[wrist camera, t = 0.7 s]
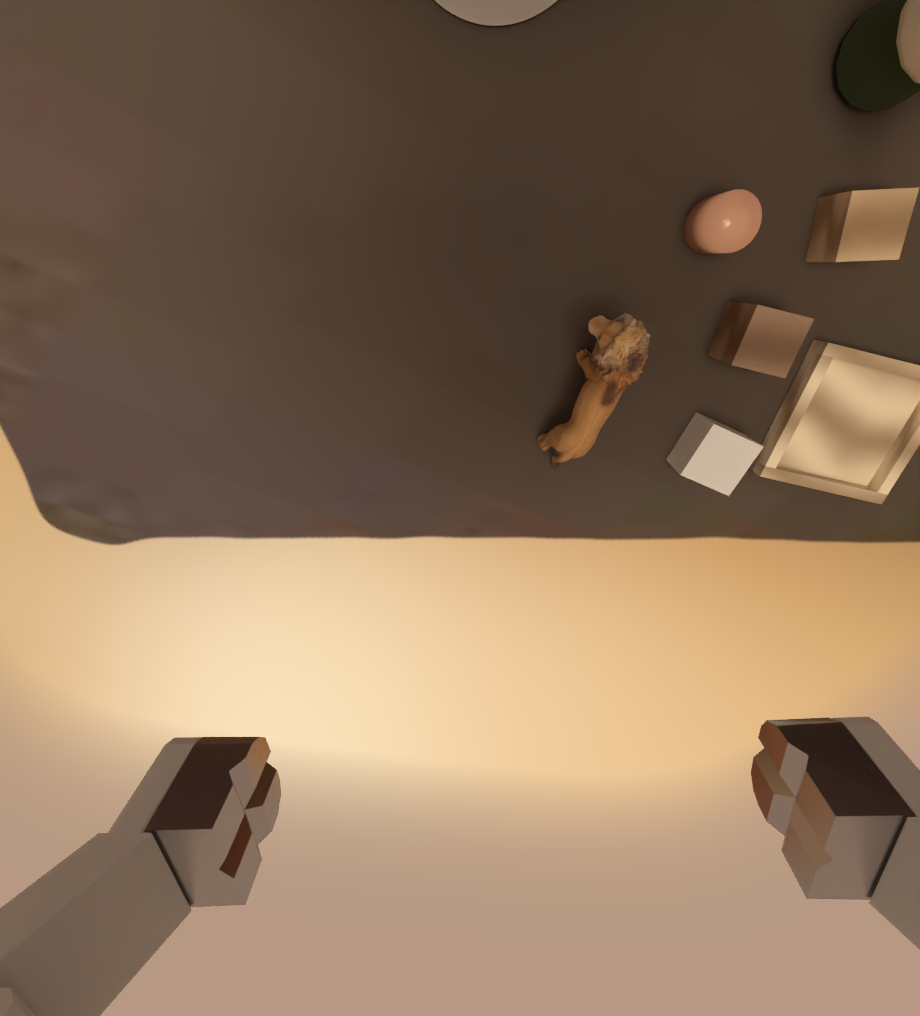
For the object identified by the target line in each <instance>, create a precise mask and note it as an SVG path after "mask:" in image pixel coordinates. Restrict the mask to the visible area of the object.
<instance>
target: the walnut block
mask: <svg viewBox="0 0 920 1016" xmlns="http://www.w3.org/2000/svg"><path fill="white" fill-rule="evenodd" d="M813 320H814V319H812V318H808V317H805V316H801V315H797V314H793V313H789V312H785V311H781V310H777V309H773V308H769V307H765V306H761V305H757V304H750V303H743V302H736V301H728V303H727V306H726V308H725V311H724V313H723V315H722V318H721V320H720V323H719V325H718V327H717V330H716V332H715V335H714V337H713V339H712V342H711V344H710V347H709V349H708V351H707V354H706V355H707V356H710V357H712V358H715V359H717V360H720V361H722V362H725V363H727V364H730V365H733V366H737V367H741V368H745V369H750V370H754V371H758V372H762V373H766V374H770V375H774V376H778V377H782V378H786V376H787V374H788V372H789V370H790V367H791V365H792V363H793V361H794V359H795V357H796V355H797V353H798V351H799V349H800V347H801V345H802V343H803V341H804V339H805V337H806V335H807V333H808V331H809V329H810V327H811V324H812V322H813Z"/></svg>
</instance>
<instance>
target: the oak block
mask: <svg viewBox="0 0 920 1016" xmlns="http://www.w3.org/2000/svg"><path fill="white" fill-rule="evenodd" d="M918 191H919V188H901V189H879V190H858V191H849V192H844V193H839V194H833V195H828V196H823V197H819V201H818V205H817V210H816V215H815V219H814V224H813V228H812V233H811V237H810V242H809V247H808V251H807V256H806V260H805V262H848V261H872V260H897V259H899V257H900V254H901V250H902V247H903V243H904V240H905V236H906V233H907V229H908V226H909V222H910V219H911V215H912V212H913V208H914V205H915V201H916V198H917V194H918Z"/></svg>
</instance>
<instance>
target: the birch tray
mask: <svg viewBox="0 0 920 1016" xmlns="http://www.w3.org/2000/svg"><path fill="white" fill-rule="evenodd" d="M919 444H920V366H919V365H915V364H911V363H907V362H903V361H899V360H896V359H892V358H888V357H884V356H880V355H876V354H872V353H868V352H864V351H860V350H856V349H852V348H848V347H844V346H840V345H836V344H832V343H828V342H824V341H819V340H815V339H814V340H813V342H812V344H811V346H810V348H809V350H808V352H807V354H806V356H805V358H804V360H803V362H802V364H801V366H800V368H799V370H798V372H797V374H796V376H795V378H794V380H793V382H792V384H791V386H790V388H789V390H788V392H787V394H786V397H785V399H784V401H783V403H782V405H781V407H780V409H779V411H778V413H777V415H776V417H775V419H774V421H773V423H772V425H771V427H770V429H769V431H768V433H767V435H766V437H765V439H764V441H763V443H762V446H764V447H763V449H762V450H761V452H760V453H759V454H758V456H757V457H756V459H755V460H754V461H753V463H752V465H751V467H750V469H751V470H752V471H754V472H755V473H756V474H758V475H759V476H761V477H765V478H770V479H774V480H778V481H783V482H787V483H791V484H796V485H800V486H804V487H808V488H813V489H817V490H821V491H826V492H830V493H834V494H839V495H843V496H847V497H852V498H856V499H860V500H865V501H869V502H873V503H878V504H882V503H883V501H884V500H885V498H886V496H887V495H888V493H889V492H890V490H891V489H892V487H893V485H894V484H895V482H896V481H897V479H898V477H899V476H900V474H901V473H902V471H903V470H904V468H905V466H906V465H907V463H908V462H909V460H910V459H911V457H912V455H913V454H914V452H915V451H916V449H917V448H918V446H919Z"/></svg>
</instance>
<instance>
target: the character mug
mask: <svg viewBox="0 0 920 1016" xmlns="http://www.w3.org/2000/svg"><path fill="white" fill-rule="evenodd" d="M836 72H837V81H838V89H839V90H840V91H841V93H842V94H843V96H844V97H845V98H846V100H847V101H848V103H849V104H850V105H852V106H854V107H857V108H859V109H861V110H864V111H866V112H871V111H878V110H885V109H888V108H890V107H892V106H894V105H895V104H897V103H899V102H901V101H903V100H905V99H907V98H909V97H910V96H912V95H914V94H915V93H917V92H919V91H920V0H882V1H880V2H879V3H878V4H876V5H875V6H873V7H872V8H871V9H869V10H868V11H866V12H865V13H864V14H862V15H861V16H860V18H859V19H858V20H857V22H856V23H855V24H854V26H853V27H852V29H851V30H850V31H849V33H848V34H847V36H846V37H845V38H844V40H843V43H842V46H841V50H840V53H839V56H838V60H837V63H836Z"/></svg>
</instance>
